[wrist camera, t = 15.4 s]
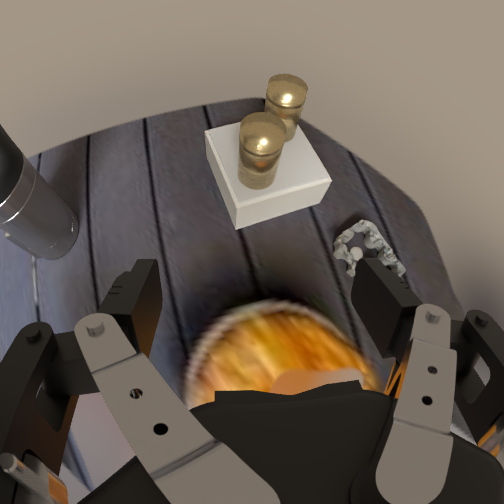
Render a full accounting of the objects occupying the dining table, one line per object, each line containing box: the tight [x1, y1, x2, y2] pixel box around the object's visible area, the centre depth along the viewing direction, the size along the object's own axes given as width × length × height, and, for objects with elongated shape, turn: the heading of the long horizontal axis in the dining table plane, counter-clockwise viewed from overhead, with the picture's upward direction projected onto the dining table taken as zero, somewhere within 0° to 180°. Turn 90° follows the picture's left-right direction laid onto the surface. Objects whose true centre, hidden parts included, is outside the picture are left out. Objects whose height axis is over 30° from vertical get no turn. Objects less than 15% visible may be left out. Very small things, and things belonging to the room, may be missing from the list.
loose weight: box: [238, 112, 287, 190], centre depth 34 cm, size 5×5×9 cm
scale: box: [205, 122, 332, 230], centre depth 44 cm, size 14×15×7 cm
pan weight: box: [264, 74, 308, 143], centre depth 37 cm, size 5×5×9 cm
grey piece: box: [333, 220, 406, 277], centre depth 42 cm, size 11×8×4 cm
